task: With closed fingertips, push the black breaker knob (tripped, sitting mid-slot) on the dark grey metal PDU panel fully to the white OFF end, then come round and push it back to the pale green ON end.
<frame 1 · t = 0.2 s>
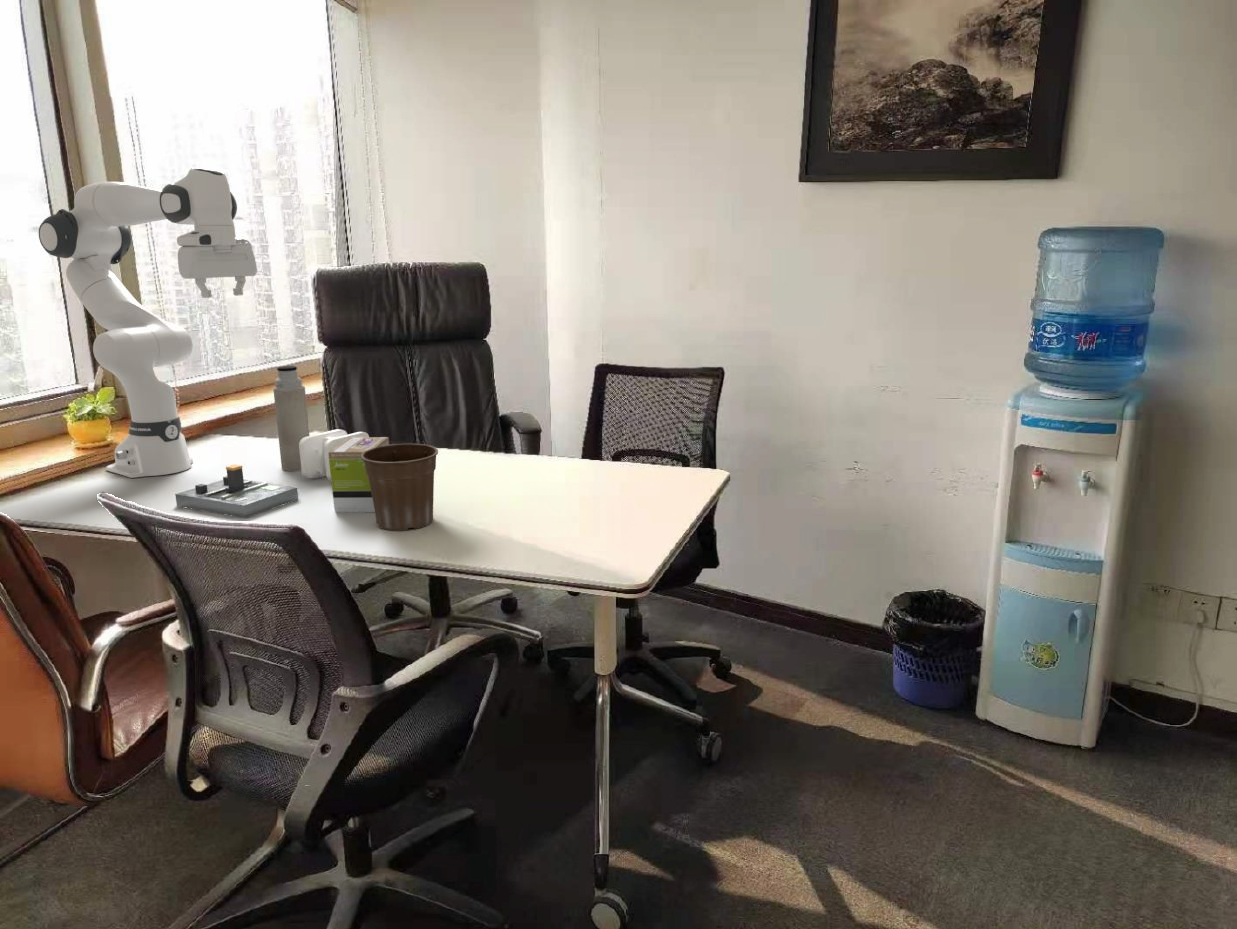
hand: (223, 296, 209), 47 cm above the table, fingers open, 8 cm apart
tea box: (365, 504, 203), on the table
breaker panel: (238, 502, 203), on the table
thermos bottle: (297, 468, 236), on the table
plant pot: (405, 523, 189), on the table
breaker lever: (235, 477, 202), point 6 cm above the table, slide at 0.0 cm
cable organizer: (337, 477, 226), on the table
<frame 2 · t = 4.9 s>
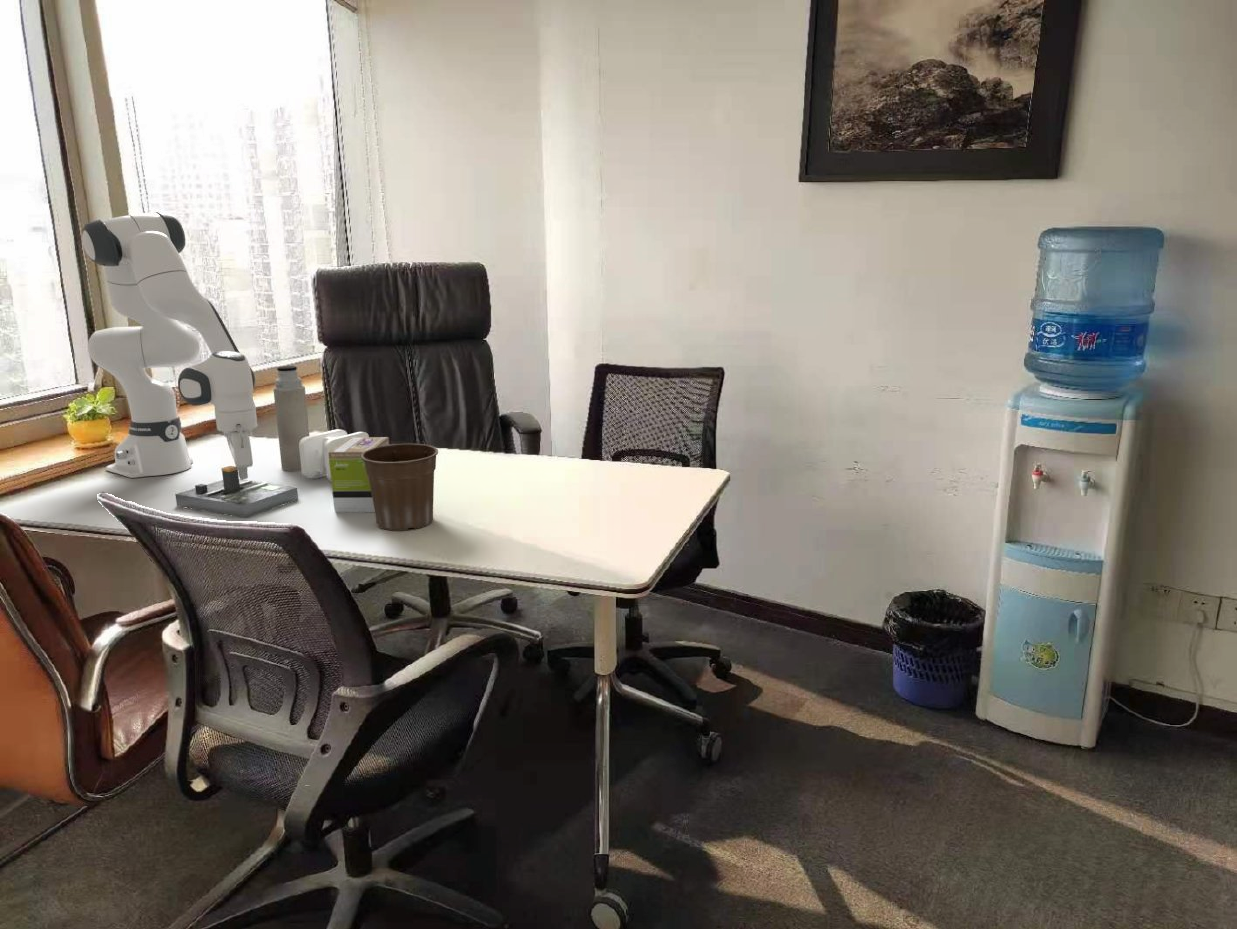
hand: (243, 477, 204), 6 cm above the table, fingers closed
breaker lever: (230, 479, 201), point 6 cm above the table, slide at -1.3 cm, touching gripper
everything else where it was.
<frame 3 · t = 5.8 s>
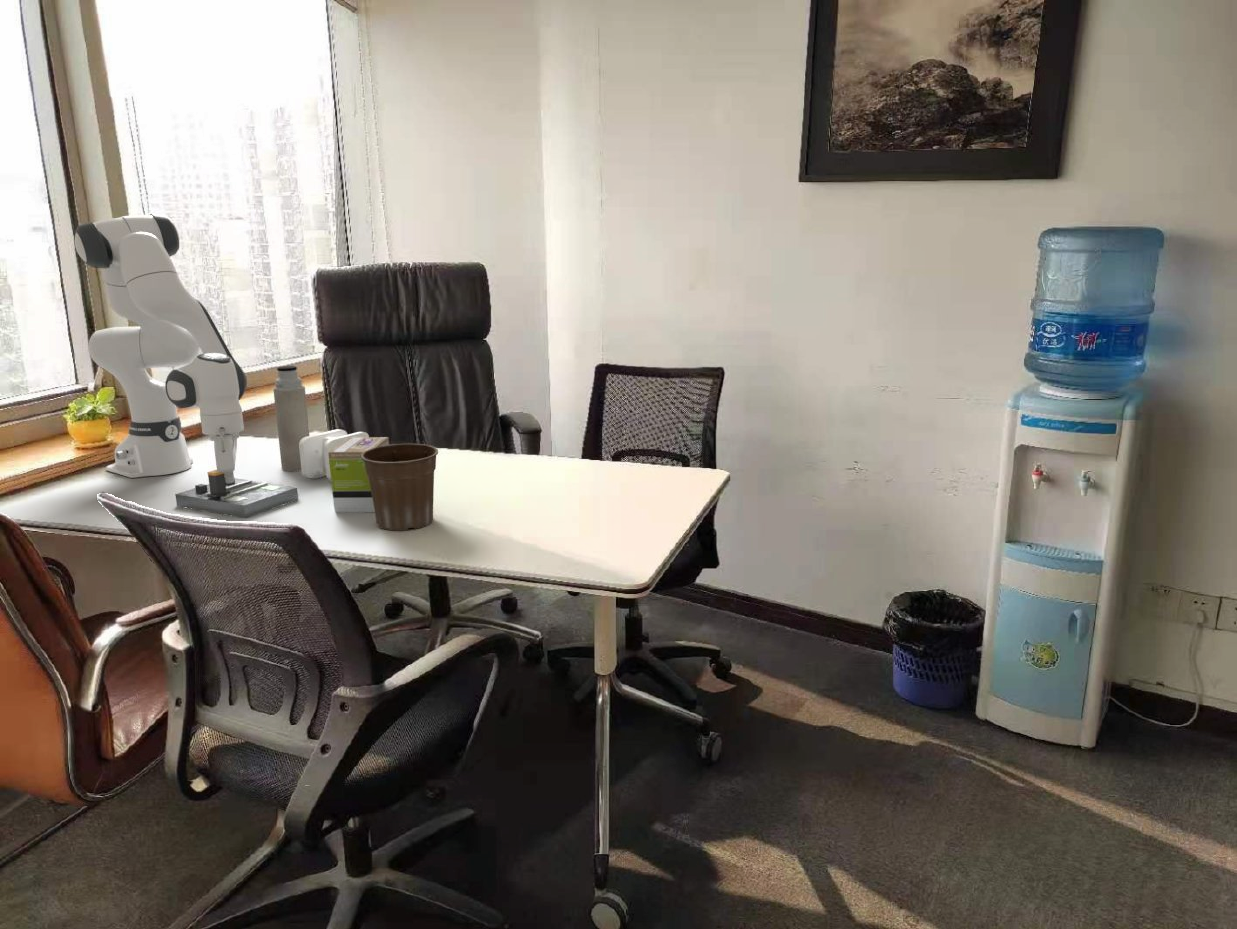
hand: (230, 482, 200), 6 cm above the table, fingers closed
breaker lever: (217, 483, 197), point 6 cm above the table, slide at -5.2 cm, touching gripper
everything else where it was.
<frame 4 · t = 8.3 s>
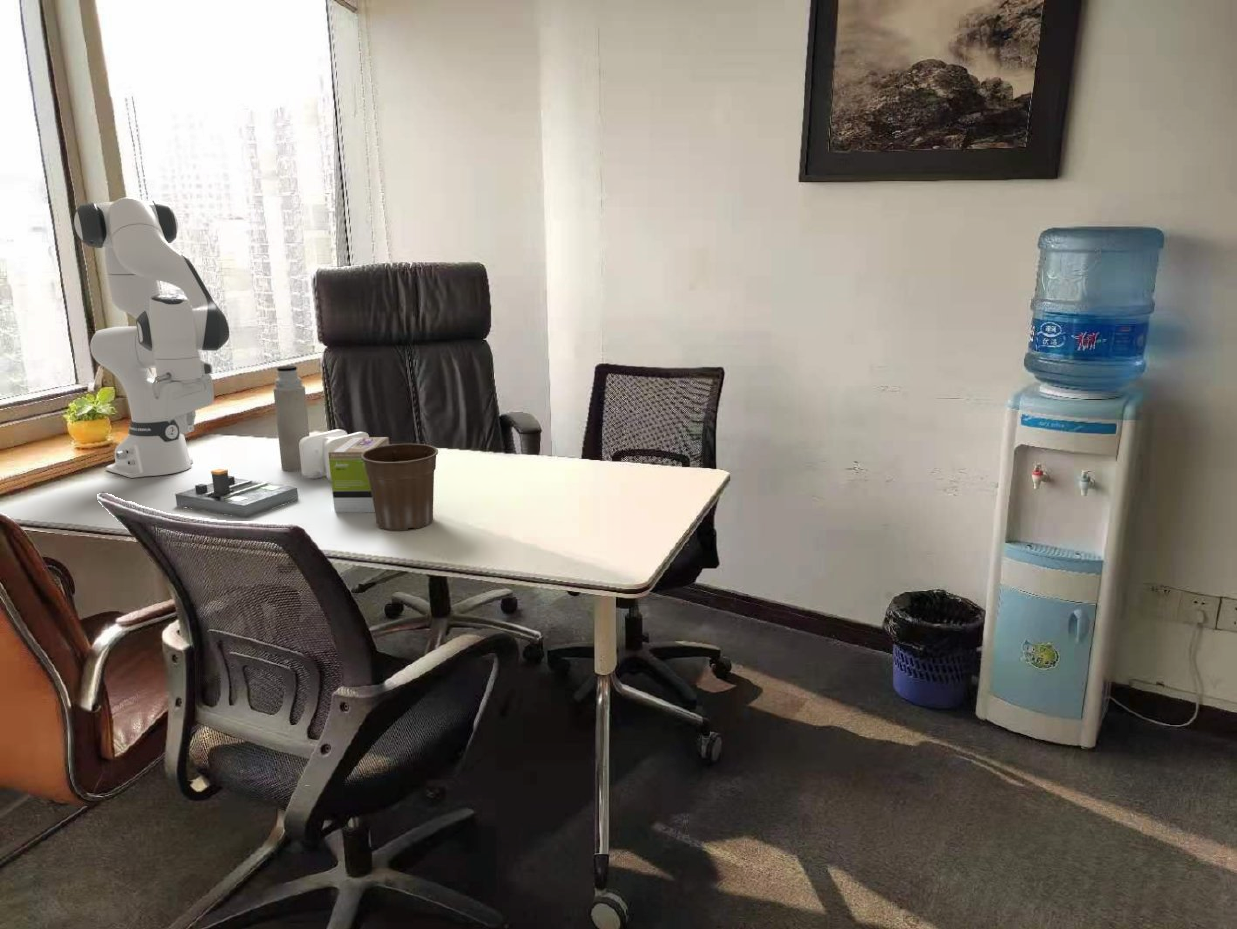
hand: (187, 432, 188), 19 cm above the table, fingers closed
breaker lever: (220, 482, 198), point 6 cm above the table, slide at -4.2 cm
everything else where it was.
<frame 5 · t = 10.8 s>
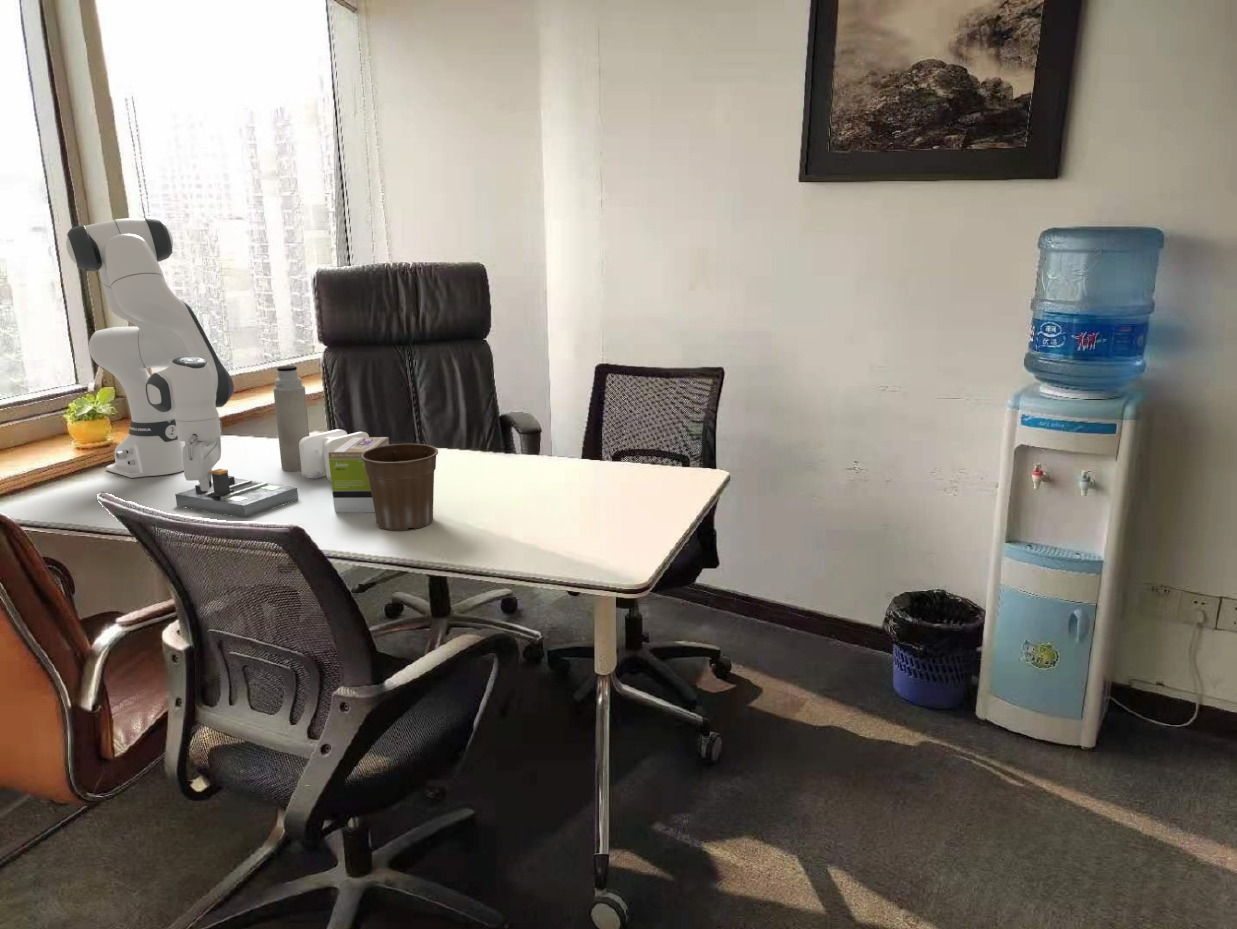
hand: (206, 489, 195), 5 cm above the table, fingers closed
breaker lever: (220, 482, 198), point 6 cm above the table, slide at -4.2 cm, touching gripper
everything else where it was.
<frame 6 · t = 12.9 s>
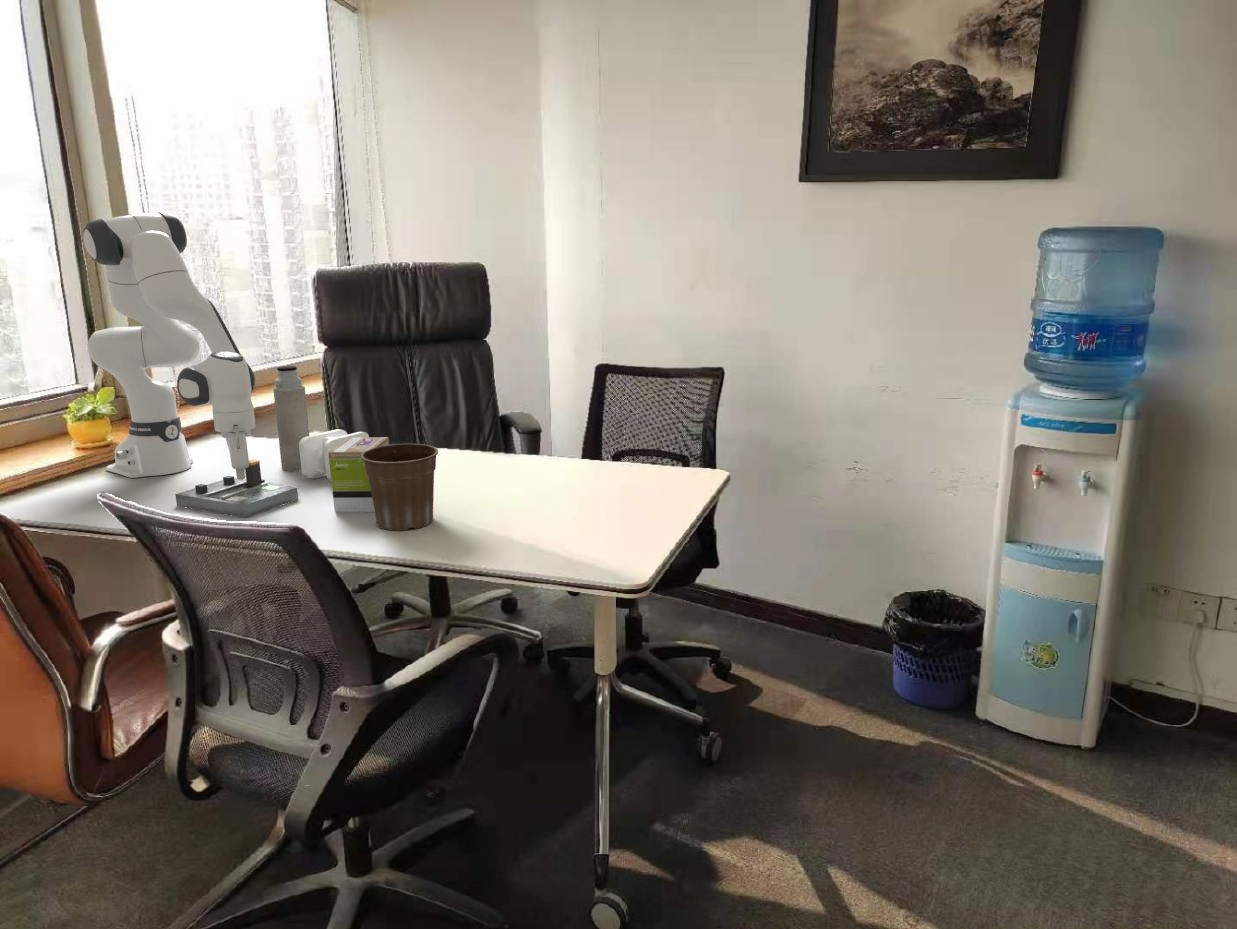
hand: (241, 478, 204), 6 cm above the table, fingers closed
breaker lever: (253, 472, 207), point 6 cm above the table, slide at 5.3 cm, touching gripper
everything else where it was.
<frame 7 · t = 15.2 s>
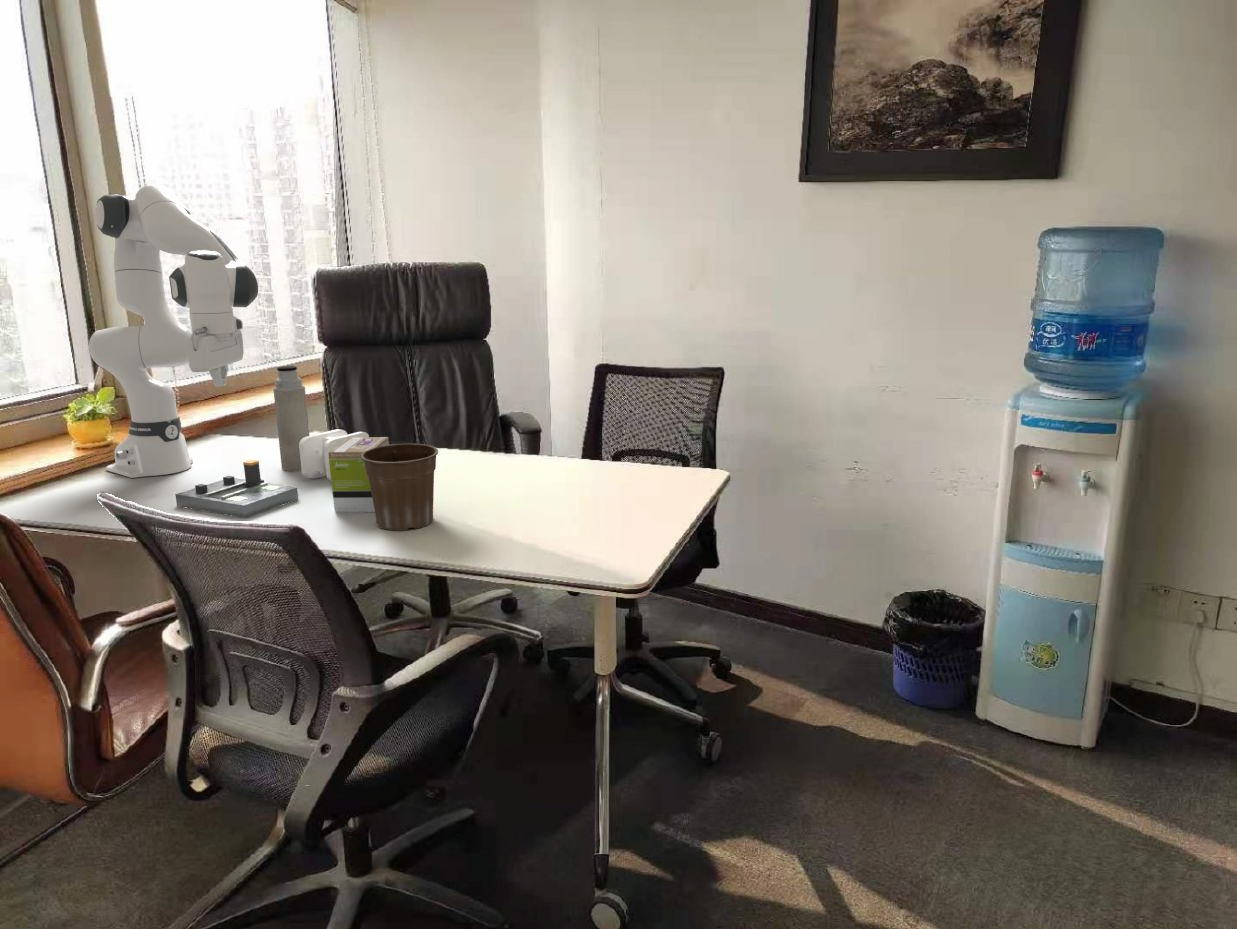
hand: (220, 385, 195), 28 cm above the table, fingers closed
breaker lever: (252, 472, 206), point 6 cm above the table, slide at 5.0 cm
everything else where it was.
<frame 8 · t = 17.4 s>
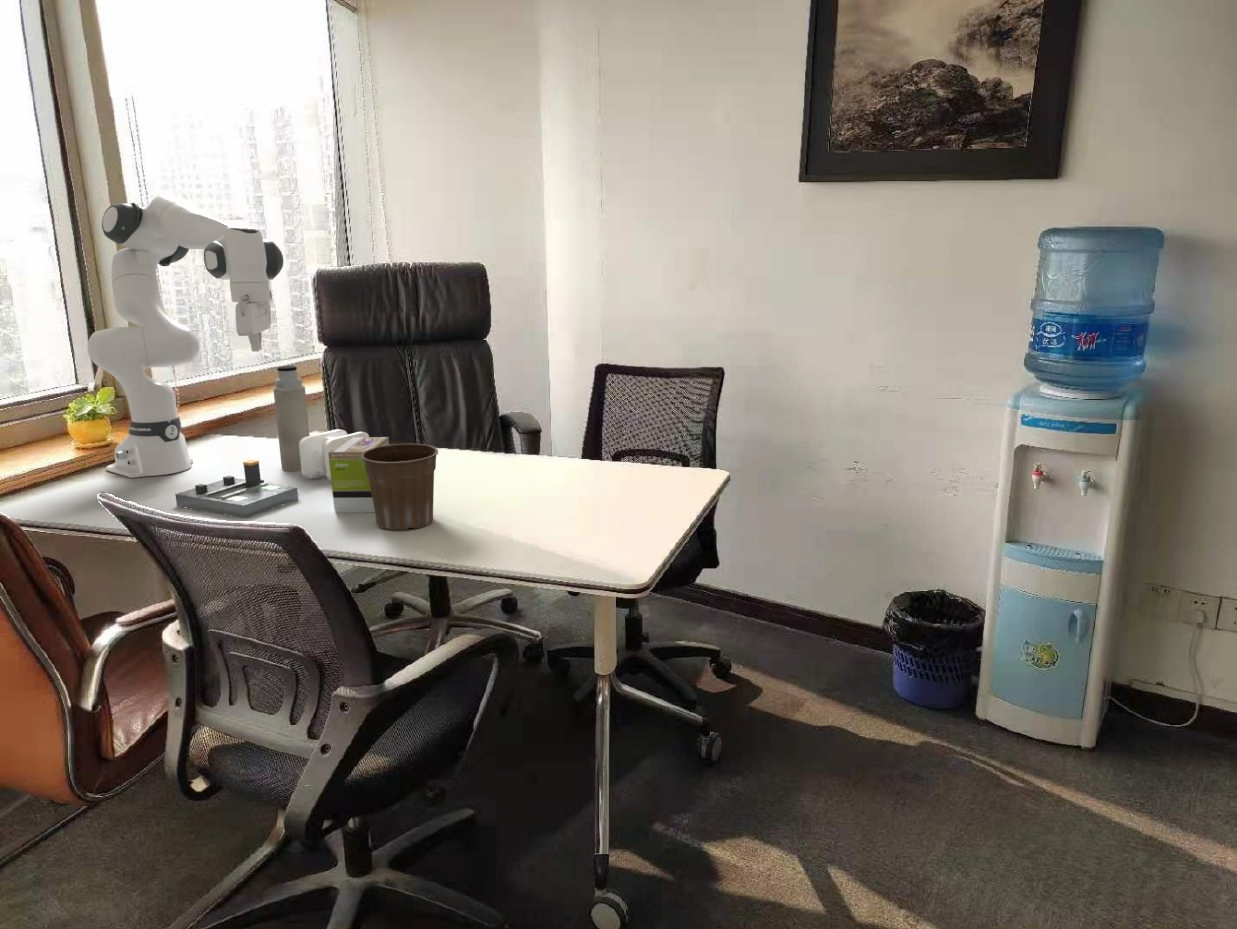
hand: (256, 350, 211), 34 cm above the table, fingers closed
nothing on the table moved.
at the end: breaker lever slide at 5.0 cm; breaker lever touching nothing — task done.
